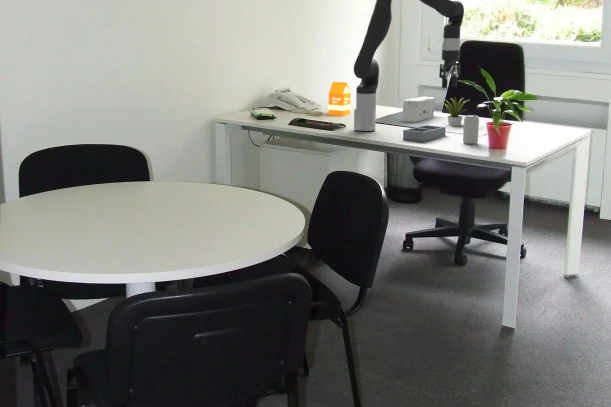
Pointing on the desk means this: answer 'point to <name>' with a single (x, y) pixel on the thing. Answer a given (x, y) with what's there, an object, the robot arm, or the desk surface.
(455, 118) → the house plant
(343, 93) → the orange juice
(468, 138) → the beverage can
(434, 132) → the grey compartment tray
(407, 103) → the stereo radio cassette player
